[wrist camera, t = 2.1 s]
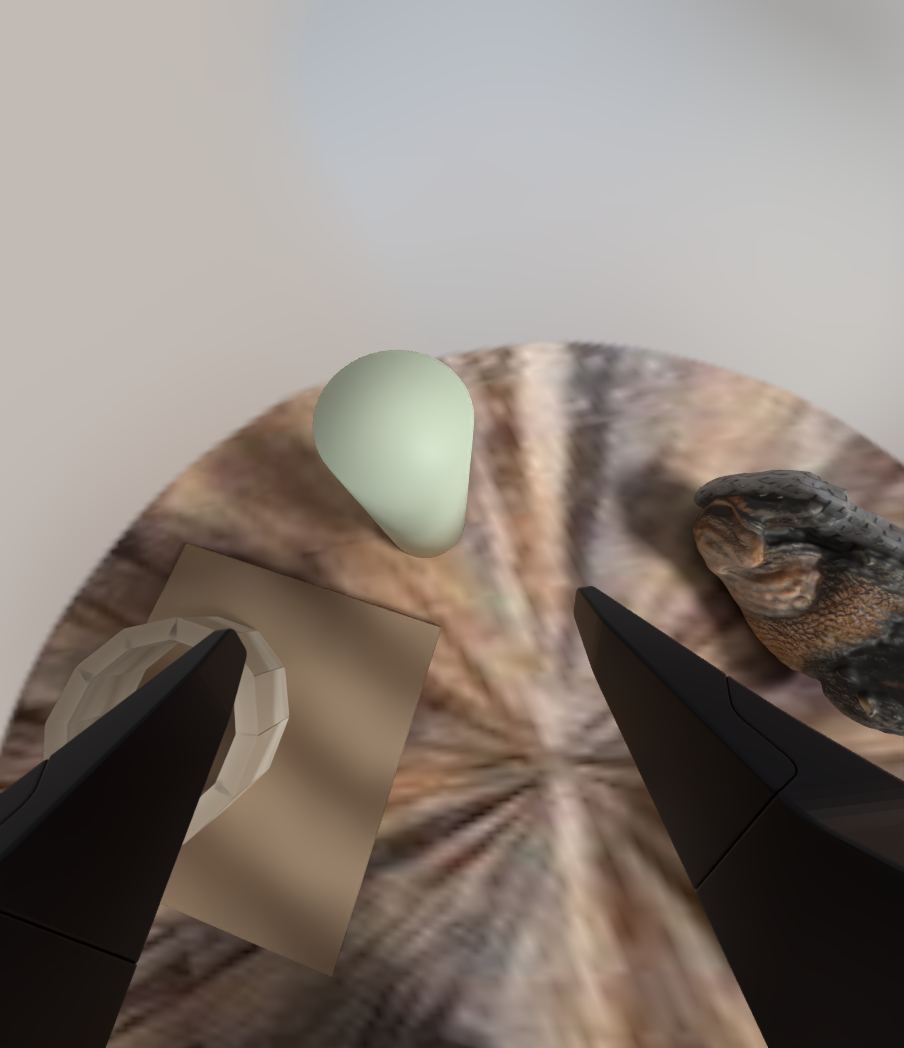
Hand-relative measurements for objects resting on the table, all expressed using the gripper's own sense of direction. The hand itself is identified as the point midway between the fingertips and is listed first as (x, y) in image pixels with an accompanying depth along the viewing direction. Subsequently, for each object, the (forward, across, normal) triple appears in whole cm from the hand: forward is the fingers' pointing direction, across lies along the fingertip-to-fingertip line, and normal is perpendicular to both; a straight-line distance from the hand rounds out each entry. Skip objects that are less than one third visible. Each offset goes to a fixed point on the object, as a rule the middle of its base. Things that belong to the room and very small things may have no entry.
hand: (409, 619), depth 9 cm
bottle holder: (+5, +10, +12) cm, 17 cm away
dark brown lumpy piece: (+8, -19, +9) cm, 23 cm away
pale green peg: (+13, 0, +4) cm, 14 cm away
